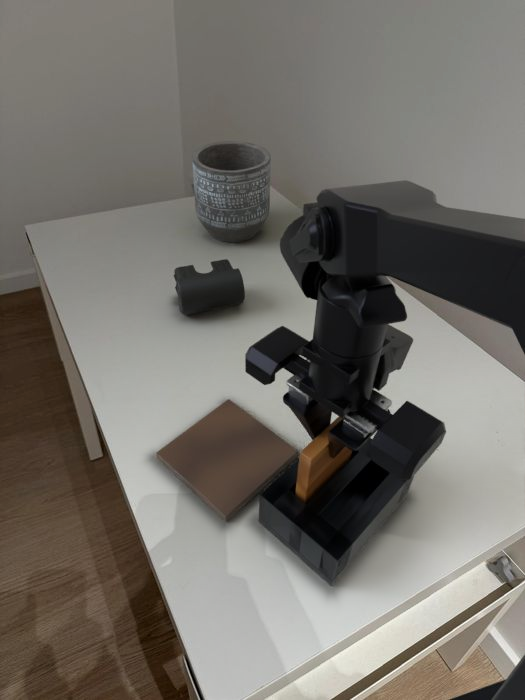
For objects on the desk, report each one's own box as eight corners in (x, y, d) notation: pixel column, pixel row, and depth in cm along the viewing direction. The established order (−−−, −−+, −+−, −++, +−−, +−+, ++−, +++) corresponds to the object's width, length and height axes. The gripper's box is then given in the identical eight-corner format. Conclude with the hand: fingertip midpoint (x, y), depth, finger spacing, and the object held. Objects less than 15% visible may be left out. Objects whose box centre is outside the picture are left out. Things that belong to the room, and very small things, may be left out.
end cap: (184, 326, 80) (180, 290, 76) (174, 299, 85) (170, 265, 80) (245, 313, 83) (245, 278, 78) (232, 288, 88) (231, 254, 83)
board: (297, 456, 62) (298, 450, 62) (226, 522, 56) (225, 516, 55) (228, 404, 68) (228, 398, 68) (157, 458, 62) (155, 452, 61)
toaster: (410, 491, 59) (421, 463, 56) (331, 586, 51) (337, 561, 47) (341, 442, 64) (347, 413, 61) (258, 522, 56) (259, 494, 52)
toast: (349, 462, 58) (360, 413, 52) (304, 508, 54) (311, 460, 48) (339, 455, 59) (349, 405, 53) (294, 500, 54) (299, 451, 49)
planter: (208, 209, 108) (204, 137, 98) (274, 216, 106) (277, 144, 96) (187, 243, 98) (180, 167, 88) (261, 253, 96) (262, 176, 86)
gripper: (501, 341, 42) (449, 455, 52) (320, 252, 51) (307, 365, 61) (431, 417, 36) (389, 530, 46) (240, 301, 45) (241, 417, 55)
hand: (328, 450), depth 52 cm, fingers closed on toast, 1 cm apart
